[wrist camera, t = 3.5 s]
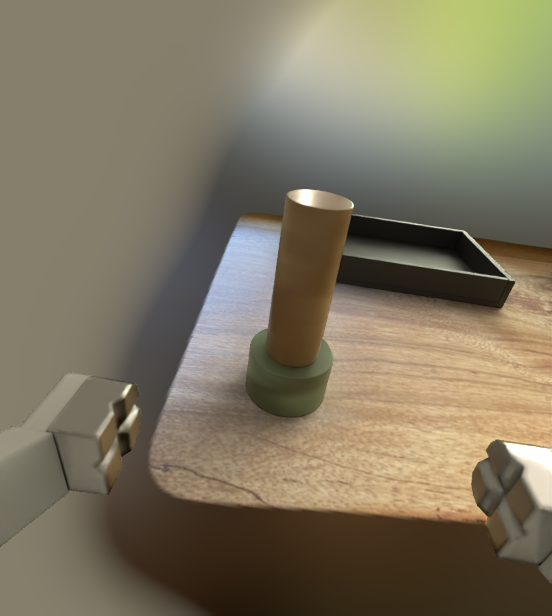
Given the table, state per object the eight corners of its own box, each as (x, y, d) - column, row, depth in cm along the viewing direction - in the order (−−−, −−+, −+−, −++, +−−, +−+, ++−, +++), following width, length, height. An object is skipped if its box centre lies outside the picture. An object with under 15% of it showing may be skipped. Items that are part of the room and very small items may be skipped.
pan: (330, 281, 37) (336, 254, 36) (326, 232, 49) (331, 210, 48) (502, 308, 37) (515, 281, 36) (456, 252, 49) (465, 230, 48)
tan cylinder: (239, 409, 22) (260, 205, 15) (252, 356, 26) (272, 179, 20) (324, 423, 22) (380, 224, 15) (323, 367, 26) (366, 193, 20)
